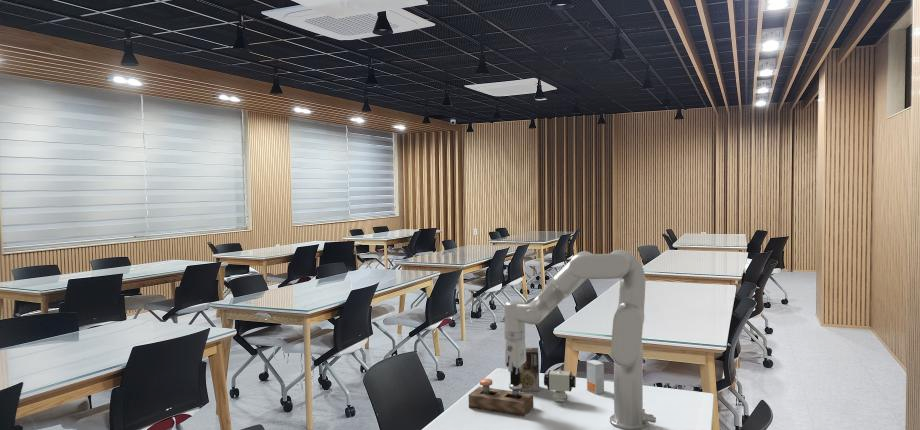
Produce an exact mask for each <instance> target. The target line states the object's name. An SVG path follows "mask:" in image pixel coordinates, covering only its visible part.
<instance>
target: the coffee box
mask: <svg viewBox="0 0 920 430" xmlns="http://www.w3.org/2000/svg"><path fill="white" fill-rule="evenodd" d="M539 364H540V362H539V348H538V347H526V362H525V363H524V364H523V365H522V366H521V367H520V383H521V384H522V389H520V390H519V392H524V391H525V392H531V391H532V392H536V391H537V392H538V391H539V392H540V368H539V367H540V365H539Z"/></svg>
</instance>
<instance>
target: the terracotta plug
mask: <svg viewBox="0 0 920 430" xmlns="http://www.w3.org/2000/svg"><path fill="white" fill-rule="evenodd" d="M479 385H480V386H482V387H483V394H487V395H490V388H491V387H490V386H492V385H493V380H492V378H481V379H480V380H479Z"/></svg>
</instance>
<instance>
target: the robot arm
mask: <svg viewBox="0 0 920 430" xmlns="http://www.w3.org/2000/svg"><path fill="white" fill-rule="evenodd" d="M613 279H614V280H615V279H619V288H618V289H619V293H618V295H619V296H618V305H617V307H616V311H615V313H614V315H613V321H612V327H611V328H612V331H611V344H610V355H611V359H612V360H613V393H614V394H613V405H614V406H613V413H614V414H612V415H611V416H609V422H610V424H611V425H613V426H614V427H617V428H619V429H622V430H640V429H644V428H646V427H647V426H648V422H649V423H653V424H655V423H657V417H656V416H654V414H650V413H649V414H648V413H647V412H646V410H645V408H643V407H644V406H643V405H644V403H643V400H644V399H643V398H644V397H643V391H644V389H643V386H644V385H643V382H644V381H643V380H644V379H643V377H644V376H643V374H644V373H643V371H644V367H643V366H644V365H643V364H644V344H643V342H642V341H643V331H644V329H643V328H644V323H645V301H646V274H645V271H644V267H643V265H642V263H641V262H640V261H639V259H638V258H637V257H636V256H635V255H633V254H632V253H631V252H628V251H627V250H624V249H615V250H613V251H611V252H610V253H592V252H590V251H587V250H584V251H579V252H578V253H576V254H575V255H574V256H572V258H571V259H570V260H569V261H568V262H567V263H566V265H564V266H563V267H562V268H561V269H560V270H559V271H558V272H557V273H556V274H555V275H554V276H553V277H552V278H551V280H550V282H549V284H547V286H546V287H545V288H544V289H543V290H542V291H541V292H540V293H539V294H537V296H536V297H534V299H533V300H532V301H530V302H529V303H524V302H523V301H521V300H508V301H506V302H505V303H504V306H503V307H504V308H503V310H504V315H503V316H504V317H503V318H504V319H503V320H504V340H505V351H504V352H505V353H504V355H505V356H504V359H505V360H504V364H505V367H506V368H508V369H507V370H508V372H509V375H510V376H509V377H510V379H509V380H510V383H511V384H514V385H519V384H520V367H521V366H522V365H523V364H524V363H525V362H526V348H527V346H526V324H528V325H537V324H540V323H541V322H542V321H543V320H544V319H545V318H546V317H547V316H548V315H549V314H550V313H551V312H552V311H553V310H554V309H555V308H556V307H557V306H558V305H559V304H560V303H562V302H563V301H564V300H565V299H566V298H569V296H571V295H572V294H573V293H574V291H576V290H577V289H578V288H579V287H580V286H581V285H582V284H583V283H584V282H585V281H586V280H613ZM510 383H509V384H510Z"/></svg>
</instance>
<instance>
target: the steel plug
mask: <svg viewBox="0 0 920 430" xmlns="http://www.w3.org/2000/svg"><path fill="white" fill-rule="evenodd" d="M508 386H509V387H508V388H509V389H510V390H511V391H512V398H515V399H519V392H520V391H519V390H520V389H522V384H521V383H520V384H519V385H514V384H511V383H508Z"/></svg>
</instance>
